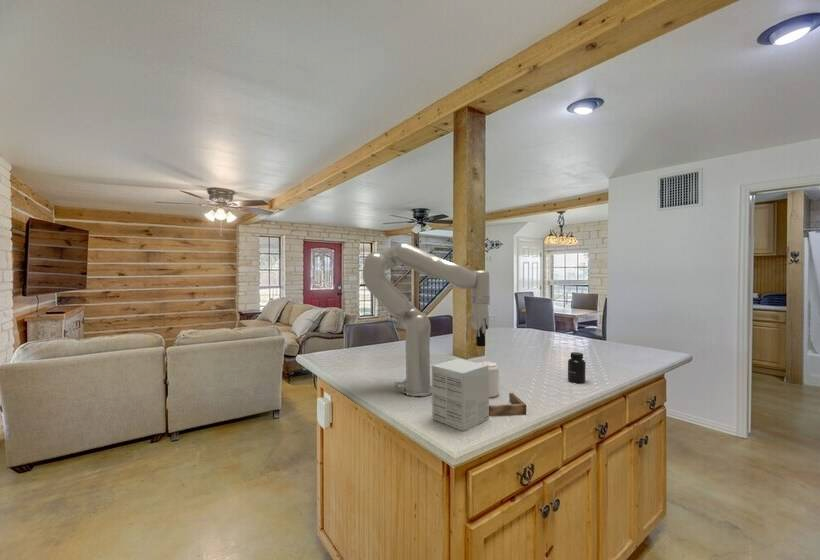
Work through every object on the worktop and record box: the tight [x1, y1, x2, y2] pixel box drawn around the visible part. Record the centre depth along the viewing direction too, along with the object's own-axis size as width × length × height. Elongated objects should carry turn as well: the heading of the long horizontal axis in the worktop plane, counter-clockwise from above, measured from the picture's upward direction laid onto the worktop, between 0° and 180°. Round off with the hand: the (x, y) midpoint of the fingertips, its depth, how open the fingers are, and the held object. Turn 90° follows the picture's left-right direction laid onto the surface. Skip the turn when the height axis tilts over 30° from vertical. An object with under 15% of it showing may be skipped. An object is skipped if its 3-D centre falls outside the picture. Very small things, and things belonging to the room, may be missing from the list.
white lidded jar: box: [478, 360, 500, 398], centre depth 139 cm, size 8×8×12 cm
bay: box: [489, 392, 527, 417], centre depth 125 cm, size 13×12×3 cm
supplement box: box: [431, 358, 490, 432], centre depth 116 cm, size 13×13×18 cm
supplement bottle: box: [567, 351, 587, 385], centre depth 154 cm, size 7×7×12 cm
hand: (480, 345), depth 148 cm, fingers closed
